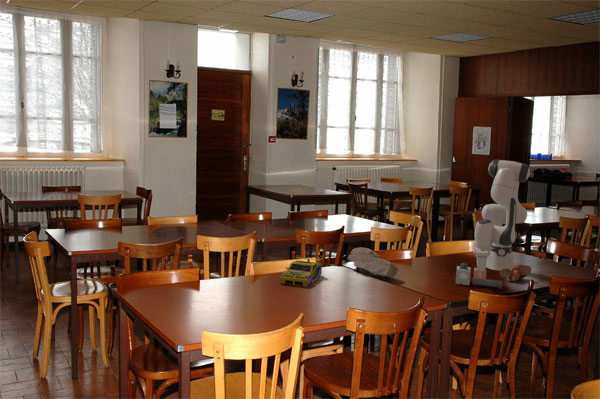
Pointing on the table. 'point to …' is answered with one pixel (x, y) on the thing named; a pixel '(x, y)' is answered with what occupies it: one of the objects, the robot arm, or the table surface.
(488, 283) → the rail
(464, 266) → the plunger
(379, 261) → the stone block
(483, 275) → the carriage
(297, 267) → the toy car
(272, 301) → the table surface
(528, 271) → the figurine
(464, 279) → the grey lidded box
